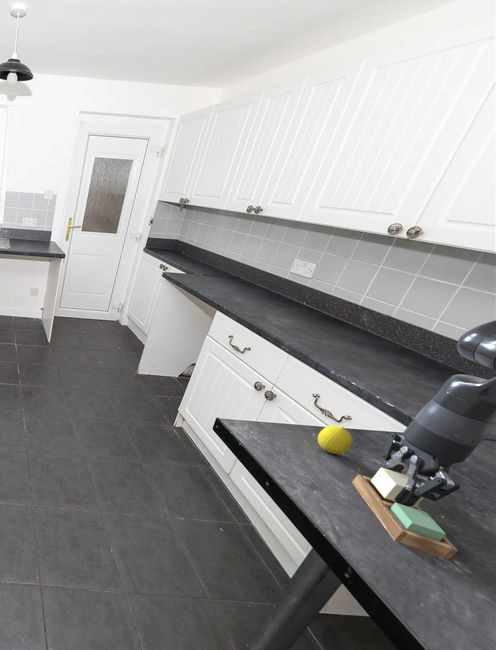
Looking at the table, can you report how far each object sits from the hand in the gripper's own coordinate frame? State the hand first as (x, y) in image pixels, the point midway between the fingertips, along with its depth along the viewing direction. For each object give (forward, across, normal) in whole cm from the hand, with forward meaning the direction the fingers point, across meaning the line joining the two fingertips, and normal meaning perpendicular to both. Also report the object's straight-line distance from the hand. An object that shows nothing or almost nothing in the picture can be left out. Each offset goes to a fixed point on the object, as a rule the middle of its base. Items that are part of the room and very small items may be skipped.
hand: (393, 492), depth 68 cm
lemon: (+4, +14, +4) cm, 15 cm away
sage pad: (+3, -7, 0) cm, 7 cm away
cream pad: (0, 0, 0) cm, 0 cm away
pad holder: (+4, -3, 0) cm, 5 cm away
